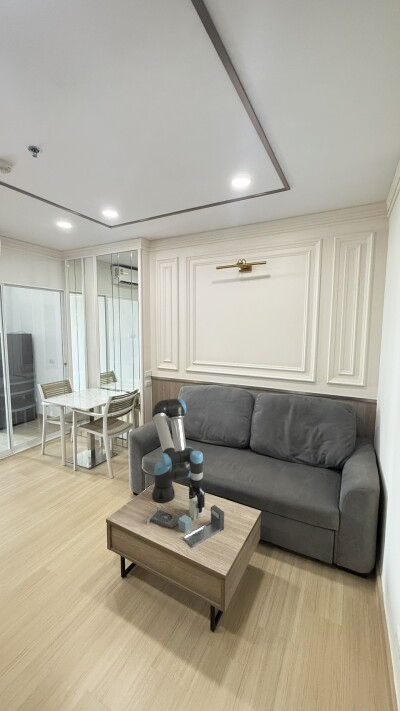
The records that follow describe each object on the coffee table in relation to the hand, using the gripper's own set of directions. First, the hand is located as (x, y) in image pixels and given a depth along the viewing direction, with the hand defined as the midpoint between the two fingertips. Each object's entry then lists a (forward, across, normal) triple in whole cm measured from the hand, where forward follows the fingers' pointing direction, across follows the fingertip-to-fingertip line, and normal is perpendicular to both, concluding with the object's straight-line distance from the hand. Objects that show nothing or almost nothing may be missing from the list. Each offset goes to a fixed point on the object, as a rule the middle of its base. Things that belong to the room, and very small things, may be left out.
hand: (196, 514), depth 173 cm
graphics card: (+1, -7, -19) cm, 20 cm away
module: (+1, 0, 0) cm, 1 cm away
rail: (+1, +15, -6) cm, 16 cm away
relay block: (+1, +5, -12) cm, 13 cm away
